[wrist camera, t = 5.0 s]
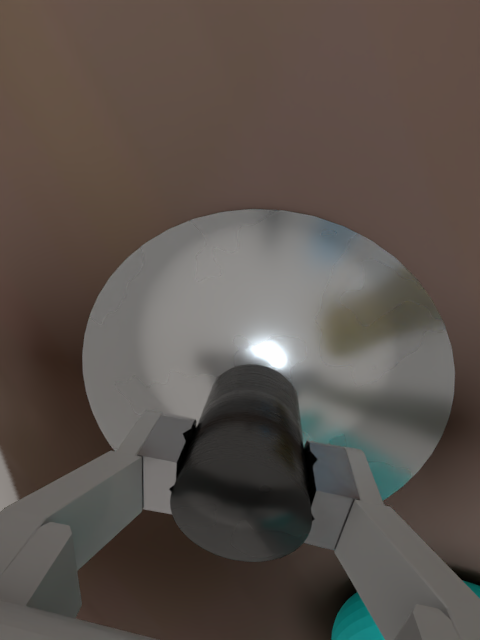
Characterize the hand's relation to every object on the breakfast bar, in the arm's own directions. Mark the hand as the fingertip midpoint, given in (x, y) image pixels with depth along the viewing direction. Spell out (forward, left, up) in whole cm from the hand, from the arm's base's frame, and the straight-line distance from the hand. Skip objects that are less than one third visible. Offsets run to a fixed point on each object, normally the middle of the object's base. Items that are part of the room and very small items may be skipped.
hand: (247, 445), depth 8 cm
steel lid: (0, 0, -3) cm, 3 cm away
